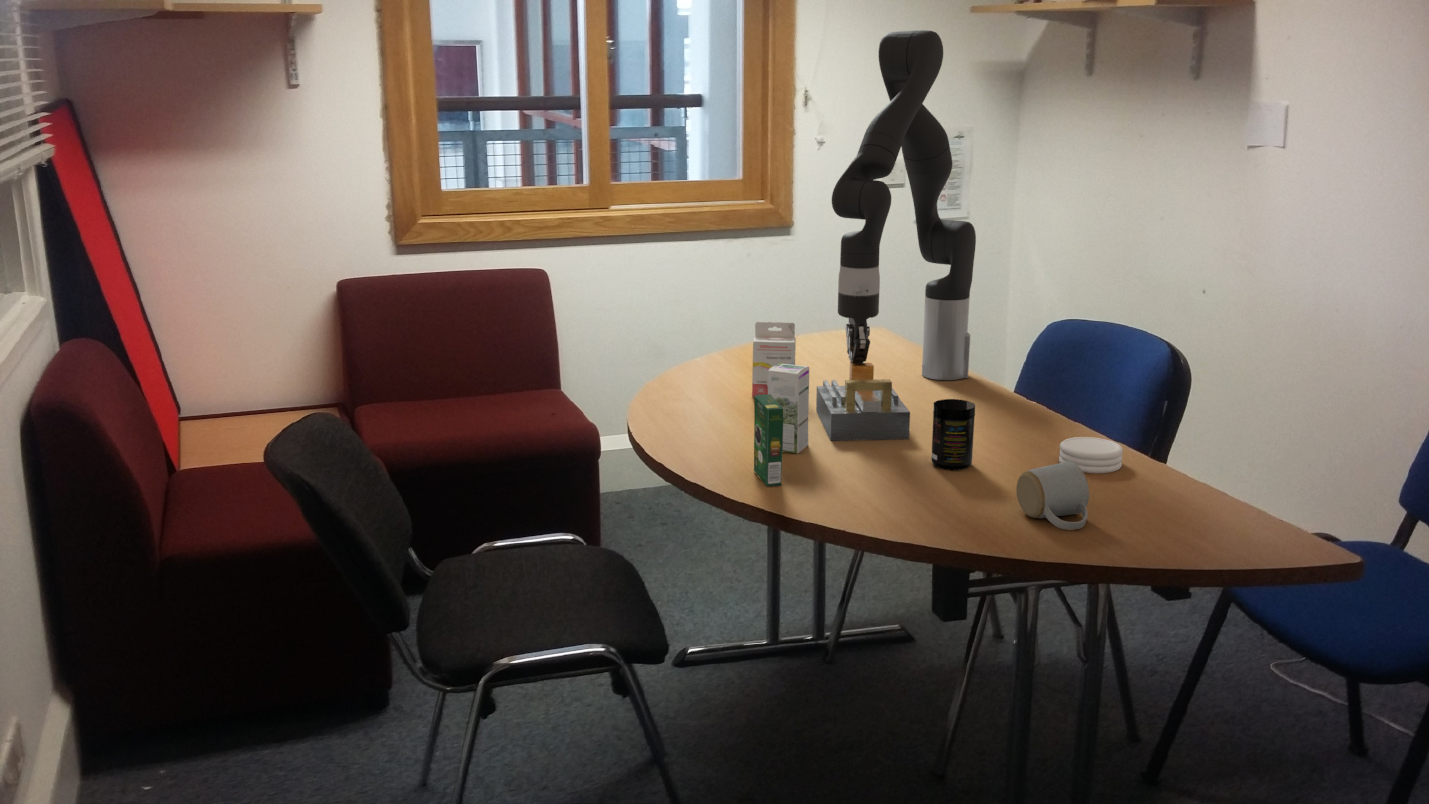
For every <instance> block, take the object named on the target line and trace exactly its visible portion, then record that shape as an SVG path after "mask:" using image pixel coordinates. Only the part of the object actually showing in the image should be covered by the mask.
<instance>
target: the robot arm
mask: <svg viewBox="0 0 1429 804" xmlns="http://www.w3.org/2000/svg"><path fill="white" fill-rule="evenodd" d="M943 59H944V46H943V41H942V39H941V37H940V35H939V34H938V33H937V32H936V31H933V30H928V29H927V30H926V29H925V30H923V29H922V30H904V31H903V30H902V31H901V30H900V31H899V30H898V31H890V32H887V33H885V35H883V36H882V38H881V39H880V41H879V46H878V64H879V70H880V73H881V77H882V80H883V83H884V86H885V90H886V93H887V96H888V99H889V102H888V103H887V104H886V105H885V106H884V107H883V108H882V109H881V110H880V111H879V112H878V113H876V115H875V116H874V118H872V120H871V121H870V123H869V124H868V126H867V128H866V130H865V132H864V134H863V138H862V140H861V143H860V145H859V148H858V151H857V153H856V156H855V157H854V159H853V160H852V161H851V162H850V164H849V165H848V167H847V168H846V169H845V171H844V172H843V173H842V175H841V176H840V178H839V179H838V180H837V182H836V184H835V185H834V188H833V191H832V194H831V206H832V209H833V212H834V213H835V214H836V215H837V216H838V217H840V218H844V219H853V220H864V221H865V222H864V225H863V227H862V229H861V230H857V231H856V230H855V231H850V232H846V233H845V234H843V235H842V236H841V241H840V257H839V258H840V259H839V263H840V265H839V272H838V283H837V284H838V289H837V291H838V292H837V314H838V316H841V317H843V318H847V319H848V323H845V330H844V331H845V336H846V347H847V350H846V352H847V355H848V359H849V364H850V363H865V362H867V359H868V354H869V349H870V345H871V341H870V338H869V337H870V334H871V328H870V326H868V319H870V318H871V319H872V318H875V317H877V316H878V315H879V313H880V312H879V311H880V309H879V307H880V283H881V281H880V279H881V276H880V246H881V242H882V241H881V239H882V237H883V231H884V228H885V224H886V222H887V219H888V216H889V213H890V209H891V204H892V193H891V189H890V188H889V185H887V183H885V182H884V181H882V180H880V179H883V178H887V177H888V176H889V175H891V173H892V172H893V170H894V167H895V165H896V162H897V160H898V159H897V158H898V156H899V153H900V150H901V151H902V152H901V153H902V156H903V157H902V158H903V161H904V166H905V167H904V168H905V170H906V174H907V178H908V183H909V185H910V187H909V188H910V192H911V196H912V203H913V209H914V215H915V216H914V217H915V224H916V225H915V226H916V232H917V240H918V242H917V243H918V247H919V252H920V254H921V256H922V259H923V260H924V261H925V262H928V263H931V264H938V265H945V266H947V265H949V266H950V268H949V272H948V274H946V276H944V277H941V278H937V279H933V280H930V281H928V282H927V283H926V284H925V285H926V286H925V292H924V295H925V296H924V298H925V299H924V318H923V320H924V321H923V339H922V340H923V341H922V343H923V344H922V359H921V360H922V361H921V362H922V363H921V376H922V377H925V378H927V379H931V380H937V381H958V380H961V379H969V368H970V352H971V351H970V348H971V347H970V346H971V334H970V333H969V314H970V313H969V312H970V293H971V287H972V283H973V276H974V275H973V274H974V264H975V254H976V246H977V245H976V243H977V237H976V236H977V235H976V230H975V227H974V225H973V224H972V223H971V222H969V221H967V220H966V221H965V220H952V219H951V220H950V219H941V218H940V216H939V210H938V200H939V197H940V195H941V193H942V191H943V190H944V187H945V185H946V184H947V182H948V180H949V178H950V175H951V172H952V169H953V158H952V152H951V146H950V141H949V137H948V134H947V132H946V129H945V128H944V127H943V126H942V124H941V123H940V121H939V120H938V119H937V118H936V117H935V115H933V113H932V112H930V111H929V109H928V108H927V107H926V106H925V105H924V104H923V103H924V101H925V100H926V97H928V94H929V92H930V90H931V89H932V87H933V85H934V84H935V81H936V80H937V78H938V75H939V74H940V71H941V68H942V66H943V65H942V64H943V61H944V60H943Z"/></svg>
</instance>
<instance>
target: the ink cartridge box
mask: <svg viewBox="0 0 1429 804" xmlns="http://www.w3.org/2000/svg"><path fill="white" fill-rule="evenodd" d="M774 327H775V328H778V329H781V330H769V329H771V328H774ZM754 329H755V330H754V331H755V336H754V337H753V342H752V376H751V377H752V380H751V382H752V383H751V384H752V385H751V386H752V389H751V391H752V393H751V397H752V398H754V396H755V395H768V370H769V369H770V368H772V367H773V366H774V365H776V364H779V363H781V364H791V365H796V346H797V345H796V342H797V341H796V340H797V338H796V336H795V331H796V324H795V323H794V322H782V321H781V322H780V321H779V322H778V321H774V322H773V321H756V322H755V326H754Z"/></svg>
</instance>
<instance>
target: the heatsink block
mask: <svg viewBox="0 0 1429 804" xmlns="http://www.w3.org/2000/svg"><path fill="white" fill-rule="evenodd" d="M844 384H845V385H839V384H838V381H837V380H835V379H834V380H832V379H831V383H829V381H828V380H827V379H826V380H822V385H819V386H818V385H816V404H815V405H816V407H815V411H816V414H817V415H818V419H819V420H820V422H821V424H822V426H823V428H824V430H825V433H826V434H827V436H828V438H829V441H832V442H833V441H834V442H836V441H881V440H883V441H884V440H886V441H887V440H892V441H893V440H910V427H911V426H910V425H911V424H910V423H911V422H910V421H911V420H910V419H911V411H910V409H908V407H907V406H906V405H905V403H904V402H903V401H902V400H901V397H899V395H898V393H897V392H896V391H895V389H894V388H893V381H892V380H891V379H886V378H885V379H884V378H883V379H873V380H849V379H846V380H845V381H844ZM855 391H874V393H875V394H876V396H877V397H878V399H879V400H880V412H862V410H861V408H860V407H859V405H858V404H857V402H856V400H855Z"/></svg>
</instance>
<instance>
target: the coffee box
mask: <svg viewBox="0 0 1429 804" xmlns="http://www.w3.org/2000/svg"><path fill="white" fill-rule="evenodd" d="M753 399H754V400H753V401H754V407H753V408H754V412H753V413H754V416H753V417H754V418H753V419H754V421H753V422H754V426H753V427H754V429H753V430H754V433H753V435H754V436H753V471H754V473H755V474H756V475H757V476H758V478H759V479H760V480H761V481H762V483H763V485H765V486H766V487H767V488H768V487H769V488H770V487H781V486H782V481H783V453H784V452H783V416H784V408H783V407H782V406H781V405H780V404H779V403H778V402H777V401H776V400H775V399H774V398H773V397H772V396H771V395H755V396H754V397H753Z"/></svg>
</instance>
